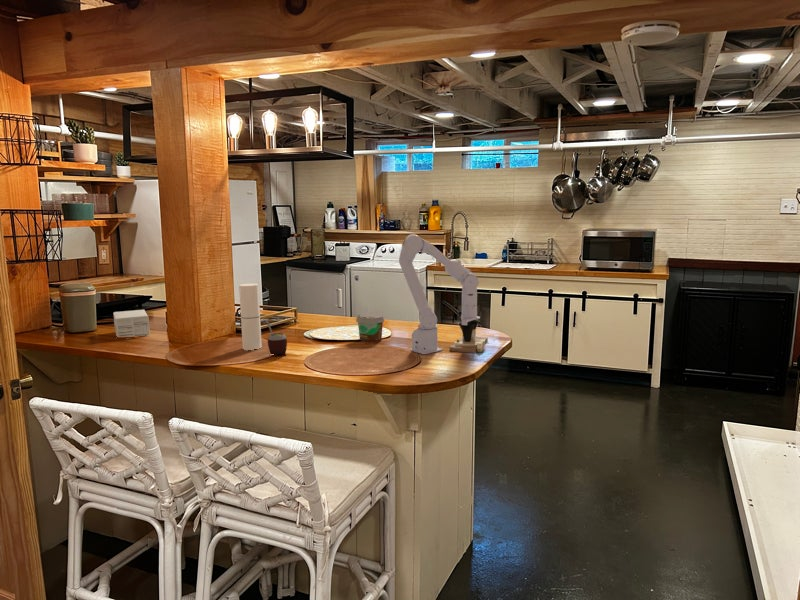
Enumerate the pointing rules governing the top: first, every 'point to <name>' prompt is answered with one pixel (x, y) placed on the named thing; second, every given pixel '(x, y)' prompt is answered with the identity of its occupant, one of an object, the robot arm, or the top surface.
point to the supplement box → (131, 323)
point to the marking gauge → (472, 342)
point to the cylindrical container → (250, 316)
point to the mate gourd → (277, 343)
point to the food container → (370, 328)
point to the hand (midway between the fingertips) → (469, 340)
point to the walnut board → (467, 349)
